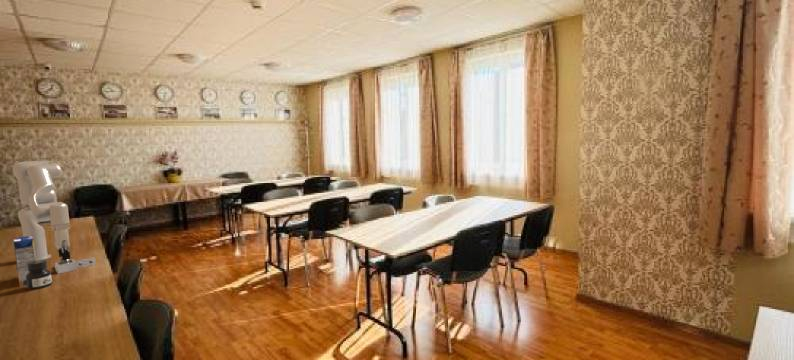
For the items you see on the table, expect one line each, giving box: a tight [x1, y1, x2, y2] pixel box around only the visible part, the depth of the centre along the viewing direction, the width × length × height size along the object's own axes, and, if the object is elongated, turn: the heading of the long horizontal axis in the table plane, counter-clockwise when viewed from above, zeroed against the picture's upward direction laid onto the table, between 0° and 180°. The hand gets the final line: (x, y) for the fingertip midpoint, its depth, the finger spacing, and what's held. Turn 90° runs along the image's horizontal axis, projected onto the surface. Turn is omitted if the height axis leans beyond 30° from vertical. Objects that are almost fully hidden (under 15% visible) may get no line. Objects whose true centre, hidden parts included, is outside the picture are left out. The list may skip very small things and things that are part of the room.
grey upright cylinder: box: [59, 257, 71, 264], centre depth 213 cm, size 4×4×7 cm
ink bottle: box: [26, 259, 53, 290], centre depth 189 cm, size 10×9×12 cm
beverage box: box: [13, 236, 36, 287], centre depth 196 cm, size 7×11×22 cm, turn 44°
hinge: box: [54, 256, 96, 275], centre depth 219 cm, size 17×17×4 cm
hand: (64, 257), depth 213 cm, fingers open, 9 cm apart
